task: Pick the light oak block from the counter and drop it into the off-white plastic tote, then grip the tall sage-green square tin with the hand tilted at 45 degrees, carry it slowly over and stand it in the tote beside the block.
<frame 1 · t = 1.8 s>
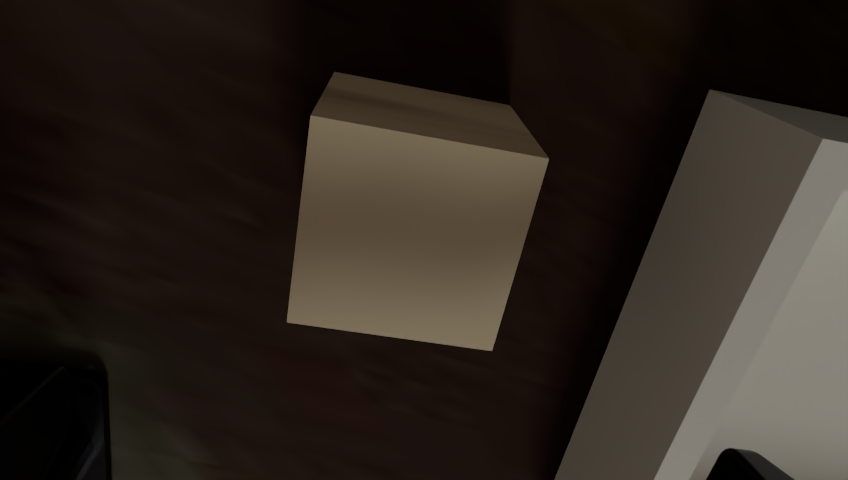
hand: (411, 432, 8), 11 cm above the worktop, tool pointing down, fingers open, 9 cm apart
oak block: (407, 171, 18), on the worktop
white tote: (789, 372, 21), on the worktop
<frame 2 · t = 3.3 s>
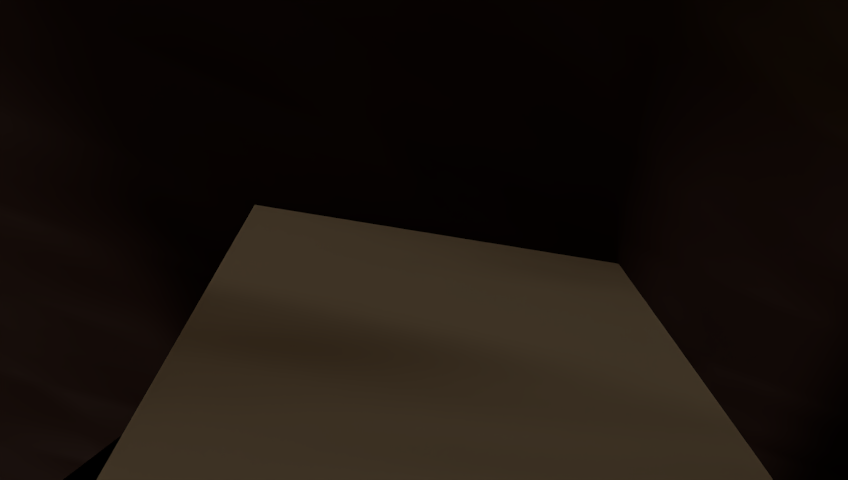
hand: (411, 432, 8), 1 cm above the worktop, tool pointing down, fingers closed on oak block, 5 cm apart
oak block: (409, 381, 9), on the worktop, touching gripper
when the fingers open (3 cm above the worktop, at t = 7.5 s): oak block drops 1 cm, resting on white tote.
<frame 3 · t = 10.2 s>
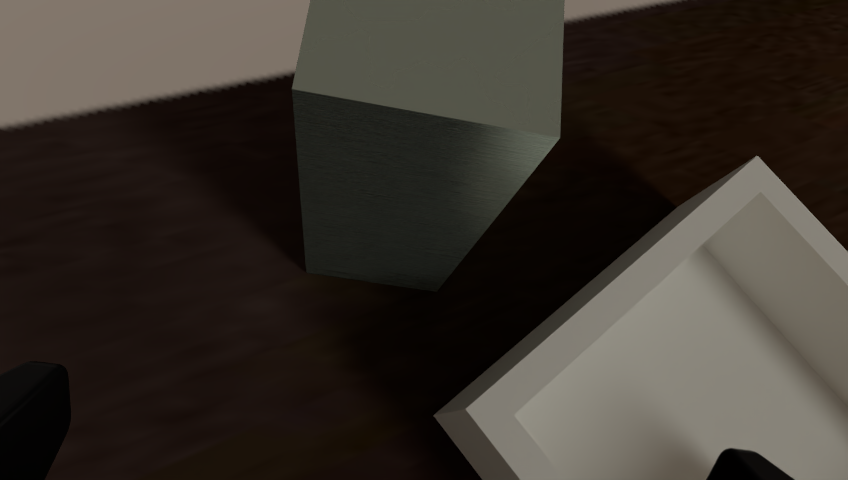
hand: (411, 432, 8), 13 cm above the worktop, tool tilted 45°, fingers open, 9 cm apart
sage tin: (380, 221, 23), on the worktop
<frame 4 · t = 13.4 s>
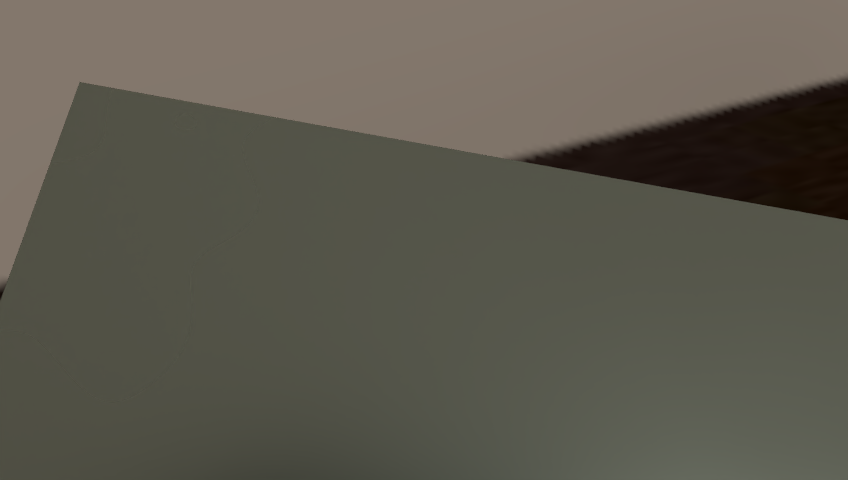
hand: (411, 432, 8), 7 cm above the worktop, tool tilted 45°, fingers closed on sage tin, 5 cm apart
when the fingers open (9 cm above the worktop, at t = 21.1 s): sage tin drops 1 cm, resting on white tote.
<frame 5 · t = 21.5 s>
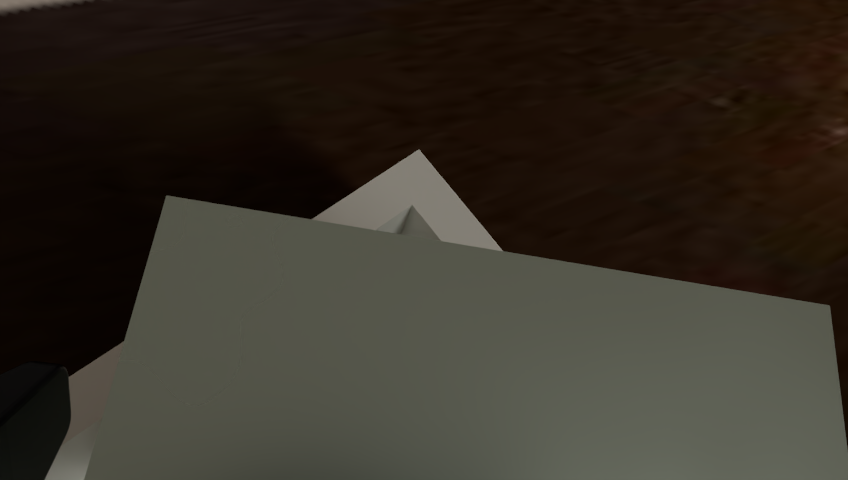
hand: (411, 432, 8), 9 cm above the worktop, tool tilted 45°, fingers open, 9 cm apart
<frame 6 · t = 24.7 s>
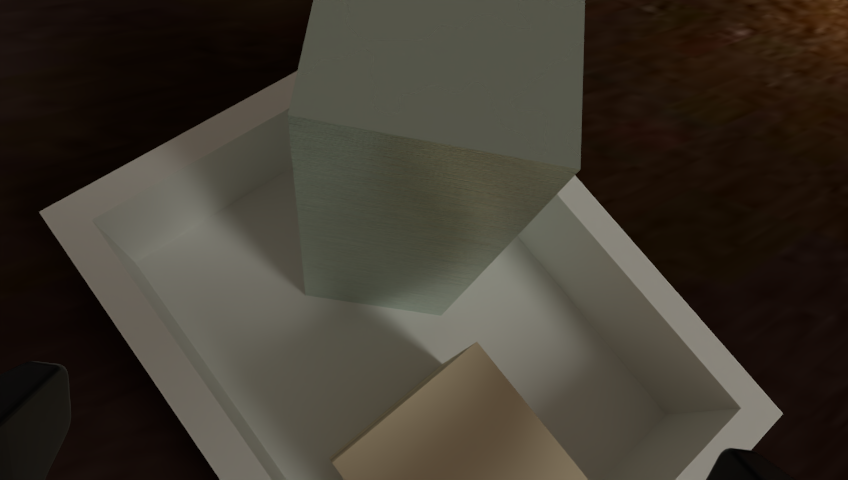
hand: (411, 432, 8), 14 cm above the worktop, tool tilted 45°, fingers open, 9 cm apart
sage tin: (383, 241, 22), point 1 cm above the worktop, touching white tote
oak block: (433, 468, 20), point 1 cm above the worktop, touching white tote
white tote: (406, 344, 22), on the worktop
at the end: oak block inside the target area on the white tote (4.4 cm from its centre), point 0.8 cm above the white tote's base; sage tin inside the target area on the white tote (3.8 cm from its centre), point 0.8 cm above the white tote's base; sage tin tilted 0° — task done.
